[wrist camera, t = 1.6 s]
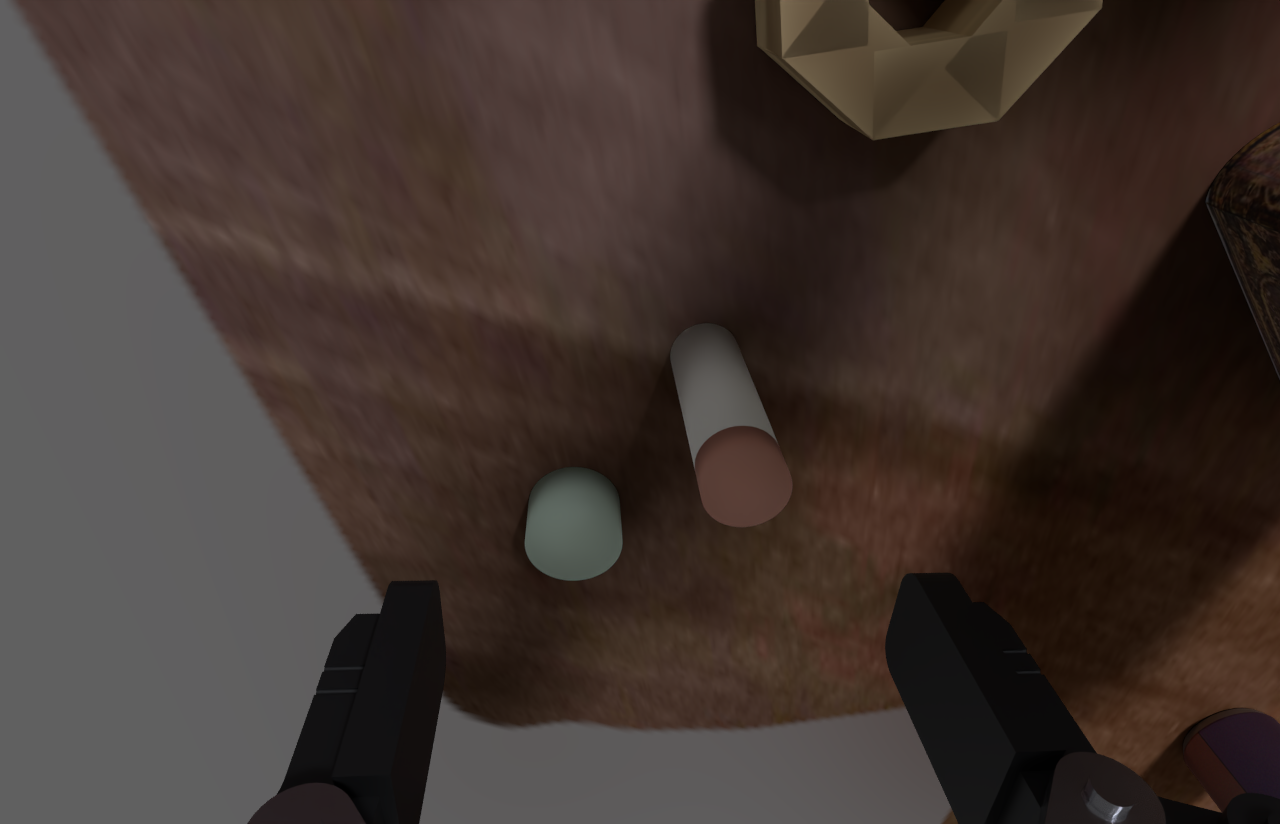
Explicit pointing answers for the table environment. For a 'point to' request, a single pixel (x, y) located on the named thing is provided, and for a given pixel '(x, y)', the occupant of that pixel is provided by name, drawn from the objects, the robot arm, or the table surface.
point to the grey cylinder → (728, 429)
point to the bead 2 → (918, 58)
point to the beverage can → (1235, 754)
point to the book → (1253, 229)
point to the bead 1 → (573, 524)
